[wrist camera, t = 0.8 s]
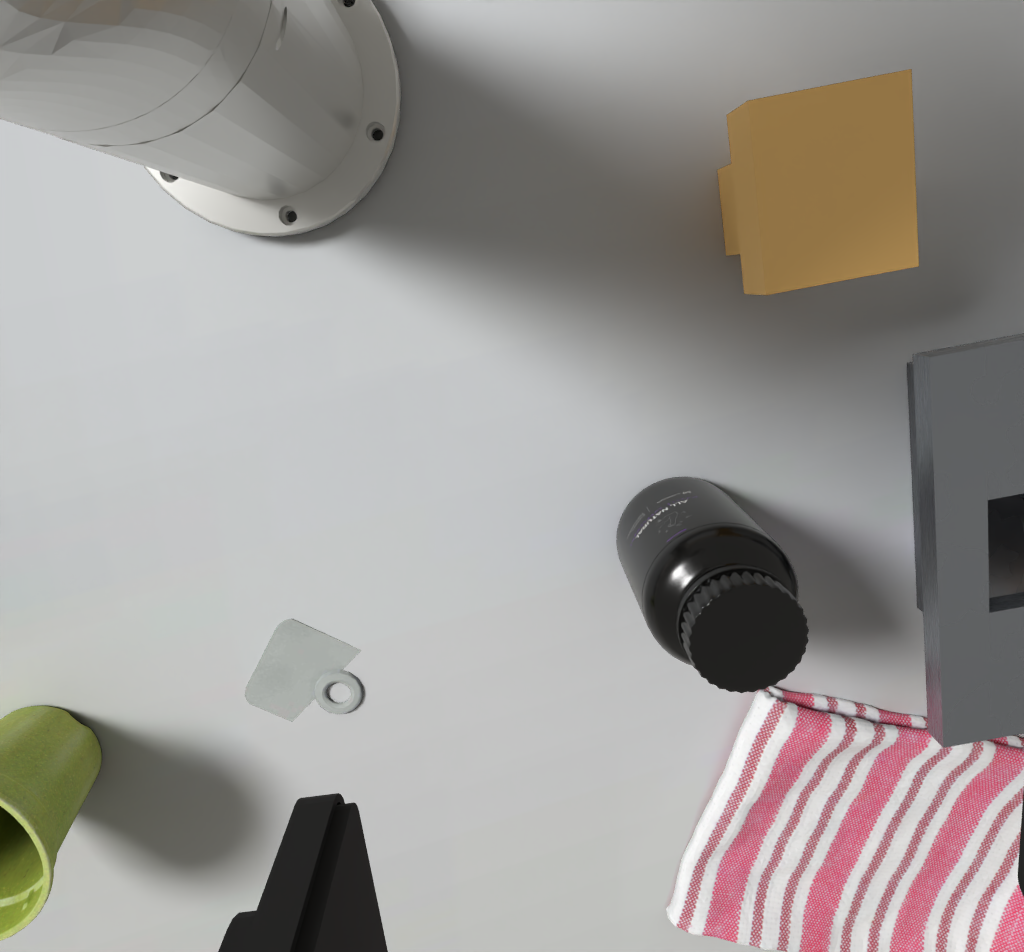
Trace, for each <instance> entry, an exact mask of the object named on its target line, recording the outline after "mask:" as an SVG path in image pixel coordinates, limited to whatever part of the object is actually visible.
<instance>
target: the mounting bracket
mask: <svg viewBox="0 0 1024 952" xmlns="http://www.w3.org/2000/svg"><path fill="white" fill-rule="evenodd" d="M360 651H361V650H359V649H357V648H355V647H353V646H351V645H348V644H346V643H344V642H342V641H340V640H338V639H335V638H333V637H331V636H329V635H327V634H325V633H322V632H320V631H318V630H316V629H314V628H312V627H309V626H307V625H305V624H303V623H301V622H299V621H296V620H294V619H287V620H285V621H283V622H281V623H280V624H279V625H278V626H277V628H276V629H275V631H274V633H273V635H272V637H271V639H270V641H269V643H268V645H267V647H266V649H265V651H264V653H263V655H262V657H261V659H260V661H259V663H258V665H257V667H256V669H255V671H254V673H253V675H252V677H251V679H250V680H249V682H248V684H247V686H246V690H245V697H246V700H247V701H248V703H249V704H251V705H253V706H256V707H258V708H261V709H263V710H265V711H268V712H270V713H272V714H275V715H277V716H279V717H282V718H284V719H286V720H289V721H291V722H293V721H294V720H295V719H296V718H297V717H298V716H299V714H300V713H301V712H302V711H303V710H304V709H305V708H306V707H307V706H308V705H309V704H310V703H311V702H312V701H313V700H314V699H315V698H316V701H317V702H318V704H319V705H320V707H321V708H323V709H324V710H326V711H327V712H330V713H334V714H345V713H348V712H350V711H352V710H354V709H355V708H356V707H357V706H358V705H359V704H360V702H361V701H362V697H363V694H364V693H363V687H362V684H361V682H360V681H359V679H358V678H357V677H356V676H354V675H353V674H352V673H350V672H347V671H343V669H344V668H345V667H346V666H347V665H348V664H349V663H350V662H351V661H352V660H353V659H354V658H355V656H356V655H357V654H358V653H359V652H360ZM333 683H343V684H345V685H346V686H348V688H349V689H350V692H351V696H350V698H349V699H348V700H347V701H345V702H341V703H337V702H333V701H332V700H331V699H329V697H328V696H327V692H326V691H327V688H328V687H329V686H330V685H331V684H333Z"/></svg>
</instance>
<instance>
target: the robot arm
mask: <svg viewBox="0 0 1024 952" xmlns="http://www.w3.org/2000/svg"><path fill="white" fill-rule="evenodd" d="M344 2H345V0H0V119H1V120H5V121H8V122H11V123H14V124H18V125H21V126H24V127H27V128H30V129H34V130H37V131H40V132H43V133H46V134H49V135H52V136H55V137H58V138H60V139H63V140H66V141H69V142H72V143H75V144H78V145H81V146H84V147H87V148H90V149H93V150H96V151H100V152H103V153H106V154H109V155H112V156H115V157H118V158H121V159H124V160H127V161H130V162H133V163H136V164H140V165H143V166H144V168H145V169H146V170H147V171H148V173H149V174H150V175H151V176H152V177H153V178H154V180H155V181H156V182H157V183H158V184H159V186H160V187H161V188H162V189H163V190H164V191H165V192H166V193H167V194H169V195H170V196H171V197H172V198H173V199H175V200H176V201H177V202H178V203H179V204H181V205H182V206H183V207H184V208H185V209H187V210H189V211H191V212H192V213H194V214H196V215H198V216H199V217H201V218H203V219H204V220H206V221H208V222H210V223H213V224H215V225H218V226H221V227H224V228H227V229H229V230H232V231H235V232H240V233H245V234H250V235H260V236H276V237H280V236H287V235H294V234H301V233H305V232H308V231H311V230H314V229H316V228H319V227H322V226H325V225H327V224H329V223H331V222H332V221H334V220H336V219H337V218H339V217H340V216H342V215H344V214H345V213H347V212H348V211H350V210H351V209H352V208H353V207H354V206H355V205H356V204H357V203H358V202H359V201H360V200H361V199H362V198H363V197H364V196H366V195H367V193H368V192H369V191H370V189H371V188H372V186H373V185H374V183H375V182H376V181H377V179H378V178H379V176H380V175H381V174H382V172H383V170H384V167H385V165H386V163H387V161H388V158H389V156H390V154H391V152H392V150H393V146H394V142H395V138H396V134H397V130H398V126H399V120H400V103H401V88H400V80H399V71H398V64H397V60H396V57H395V53H394V50H393V46H392V43H391V40H390V36H389V34H388V32H387V30H386V27H385V25H384V23H383V20H382V18H381V15H380V14H379V12H378V10H377V9H376V7H375V5H374V4H373V2H372V0H355V3H354V5H353V6H351V7H346V6H345V5H344ZM376 130H381V131H382V132H383V138H382V139H381V140H379V141H375V140H374V139H373V133H374V131H376ZM173 176H176V177H178V179H177V180H175V179H174V178H173ZM291 211H294V212H295V213H296V215H297V219H296V221H295V222H293V223H292V222H290V221H289V219H288V214H289V212H291ZM1018 882H1019V886H1020V889H1021V892H1022V894H1023V896H1024V791H1023V805H1022V819H1021V834H1020V848H1019V862H1018ZM218 952H388V951H387V946H386V941H385V936H384V931H383V927H382V922H381V917H380V912H379V907H378V902H377V897H376V892H375V888H374V883H373V878H372V873H371V868H370V863H369V858H368V854H367V849H366V844H365V839H364V834H363V829H362V824H361V819H360V815H359V810H358V807H357V805H356V803H348V804H345V803H344V799H343V797H342V795H341V794H339V793H338V794H330V795H322V796H314V797H306V798H300V799H299V800H297V802H296V804H295V806H294V809H293V812H292V814H291V817H290V820H289V823H288V825H287V828H286V831H285V834H284V836H283V839H282V842H281V845H280V847H279V850H278V853H277V856H276V858H275V861H274V864H273V867H272V869H271V872H270V875H269V878H268V880H267V883H266V886H265V889H264V891H263V894H262V897H261V900H260V902H259V905H258V908H257V911H250V912H242V913H238V914H237V915H236V916H235V917H234V918H233V919H232V921H231V923H230V925H229V927H228V929H227V931H226V934H225V936H224V939H223V941H222V944H221V946H220V949H219V951H218Z"/></svg>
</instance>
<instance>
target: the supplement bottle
mask: <svg viewBox="0 0 1024 952" xmlns="http://www.w3.org/2000/svg"><path fill="white" fill-rule="evenodd" d="M616 542H617V550H618V555H619V558H620V561H621V564H622V567H623V569H624V571H625V574H626V576H627V578H628V581H629V583H630V586H631V588H632V590H633V593H634V595H635V597H636V600H637V602H638V604H639V607H640V609H641V611H642V614H643V616H644V618H645V621H646V623H647V625H648V627H649V629H650V631H651V633H652V634H653V636H654V638H655V639H656V640H657V642H658V643H659V644H660V645H661V646H662V648H664V649H665V650H666V651H667V652H668V653H669V654H671V655H672V656H673V657H675V658H677V659H678V660H680V661H682V662H684V663H686V664H689V665H692V666H693V667H694V668H695V669H697V670H698V672H699V674H700V675H701V677H703V678H706V679H707V681H708V682H709V683H710V684H714V685H716V686H717V687H718V688H719V689H726V690H728V691H730V692H734V691H737V692H740V693H744V692H747V691H748V692H755V691H757V690H763V689H766V688H767V687H769V686H772V685H776V684H777V683H778V682H779V681H780V680H783V679H785V678H786V677H787V675H788V674H789V673H791V672H792V671H794V669H795V667H796V665H797V664H799V663H800V662H801V658H802V655H803V654H804V653H805V651H806V647H805V646H806V644H807V643H808V637H807V634H808V632H809V629H808V627H807V618H806V617H805V615H804V614H803V608H802V607H801V606H800V605H799V604H798V597H799V595H798V581H797V577H796V573H795V570H794V567H793V565H792V563H791V561H790V559H789V558H788V556H787V555H786V553H785V552H784V551H783V550H782V548H781V547H780V546H779V545H778V544H777V543H776V542H775V541H774V540H773V539H772V538H771V537H770V536H769V535H768V534H767V533H766V532H765V531H764V530H763V529H762V528H761V527H760V526H759V525H758V524H757V523H756V522H755V521H754V520H753V519H752V518H751V517H750V516H749V515H748V514H747V513H746V512H745V511H744V510H743V509H742V508H740V507H739V506H738V505H737V504H736V503H735V502H734V501H733V500H732V499H731V498H730V497H729V496H728V495H727V494H726V493H725V492H723V491H722V490H721V489H719V488H718V487H716V486H715V485H713V484H711V483H709V482H707V481H704V480H701V479H697V478H692V477H675V478H669V479H664V480H661V481H658V482H656V483H654V484H652V485H650V486H648V487H647V488H645V489H643V490H642V491H641V492H640V493H638V494H637V495H636V496H635V497H634V498H633V499H632V501H631V502H630V503H629V504H628V506H627V507H626V509H625V510H624V512H623V514H622V517H621V519H620V522H619V525H618V529H617V540H616Z"/></svg>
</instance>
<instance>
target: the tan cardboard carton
mask: <svg viewBox="0 0 1024 952" xmlns="http://www.w3.org/2000/svg"><path fill="white" fill-rule="evenodd" d="M727 125H728V135H729V145H730V155H731V164H729V165H727V166H725V167H723V168H721V169H718V170H717V172H718V182H719V192H720V201H721V211H722V221H723V230H724V240H725V250H726V256H727V255H738V254H740V257H741V267H742V277H743V287H744V294H753V295H770V294H776V293H781V292H786V291H791V290H797V289H802V288H807V287H812V286H818V285H823V284H828V283H833V282H839V281H844V280H849V279H855V278H860V277H865V276H870V275H876V274H881V273H886V272H891V271H897V270H902V269H907V268H912V267H918V266H919V256H918V229H917V203H916V176H915V149H914V123H913V96H912V70H911V69H909V70H904V71H899V72H893V73H888V74H883V75H878V76H873V77H868V78H862V79H857V80H852V81H847V82H842V83H837V84H831V85H826V86H821V87H816V88H811V89H806V90H801V91H795V92H790V93H785V94H780V95H775V96H770V97H764V98H759V99H754V100H749V101H747V102H745V103H744V104H742V105H741V106H739V107H738V108H736V109H735V110H733V111H732V112H730V113H729V114H728V115H727Z"/></svg>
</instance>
